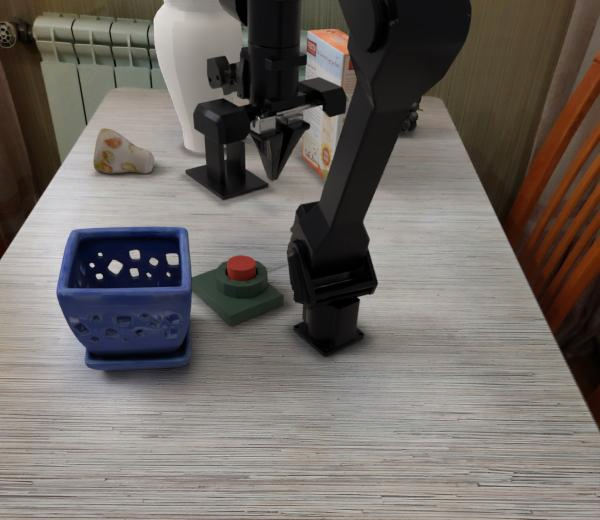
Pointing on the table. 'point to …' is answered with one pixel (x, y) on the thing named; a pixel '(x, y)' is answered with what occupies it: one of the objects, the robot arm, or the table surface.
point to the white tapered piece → (120, 154)
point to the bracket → (226, 171)
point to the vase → (194, 55)
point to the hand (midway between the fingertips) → (272, 179)
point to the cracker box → (323, 130)
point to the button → (241, 268)
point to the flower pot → (128, 297)
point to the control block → (237, 294)
